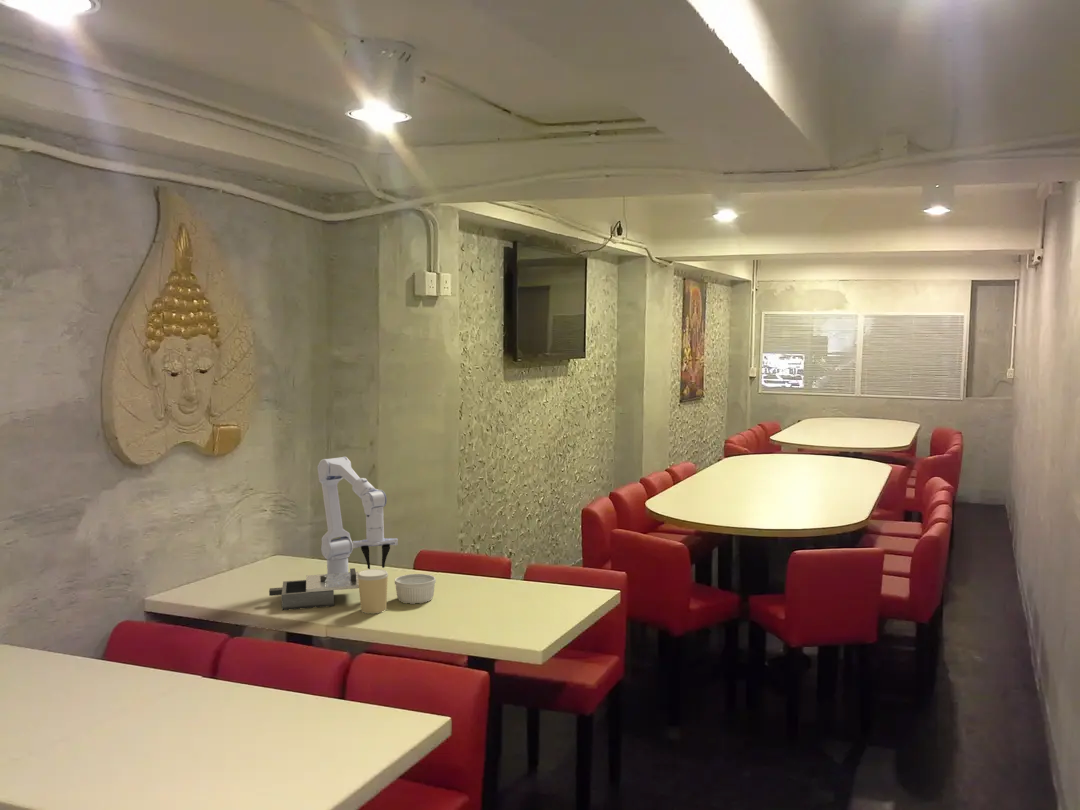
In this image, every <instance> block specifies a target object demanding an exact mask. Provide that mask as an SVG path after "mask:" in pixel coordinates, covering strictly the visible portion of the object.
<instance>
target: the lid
mask: <svg viewBox="0 0 1080 810" xmlns="http://www.w3.org/2000/svg"><path fill="white" fill-rule="evenodd" d="M358 575H359V571H356V568H349V571H348V572H347V573H334V574H327V573H323V574H309V575H306V577H305V578H306V579H305V580H306V592H317V591H330V590H334V591H339V590H353V589H359V581H358Z"/></svg>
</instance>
